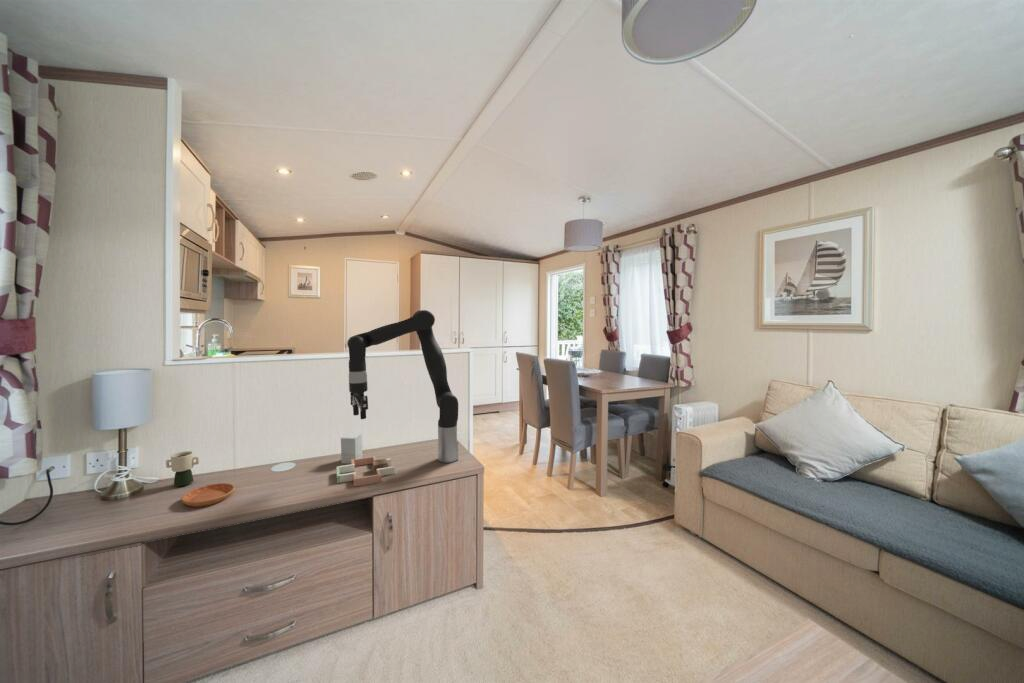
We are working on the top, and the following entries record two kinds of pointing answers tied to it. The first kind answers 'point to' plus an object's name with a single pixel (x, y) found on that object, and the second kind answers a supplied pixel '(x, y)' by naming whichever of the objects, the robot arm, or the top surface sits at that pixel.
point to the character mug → (182, 467)
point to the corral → (365, 479)
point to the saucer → (208, 495)
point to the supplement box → (351, 447)
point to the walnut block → (379, 465)
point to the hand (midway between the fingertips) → (359, 416)
